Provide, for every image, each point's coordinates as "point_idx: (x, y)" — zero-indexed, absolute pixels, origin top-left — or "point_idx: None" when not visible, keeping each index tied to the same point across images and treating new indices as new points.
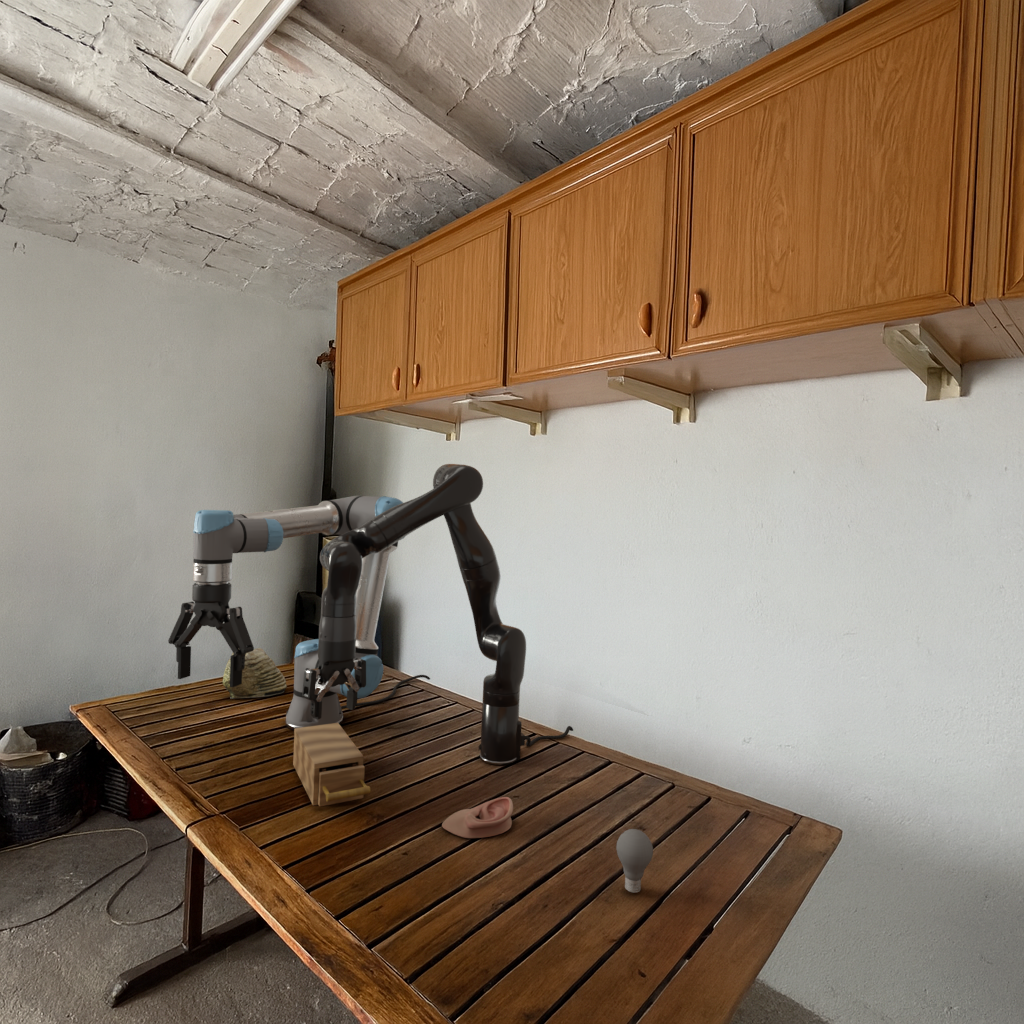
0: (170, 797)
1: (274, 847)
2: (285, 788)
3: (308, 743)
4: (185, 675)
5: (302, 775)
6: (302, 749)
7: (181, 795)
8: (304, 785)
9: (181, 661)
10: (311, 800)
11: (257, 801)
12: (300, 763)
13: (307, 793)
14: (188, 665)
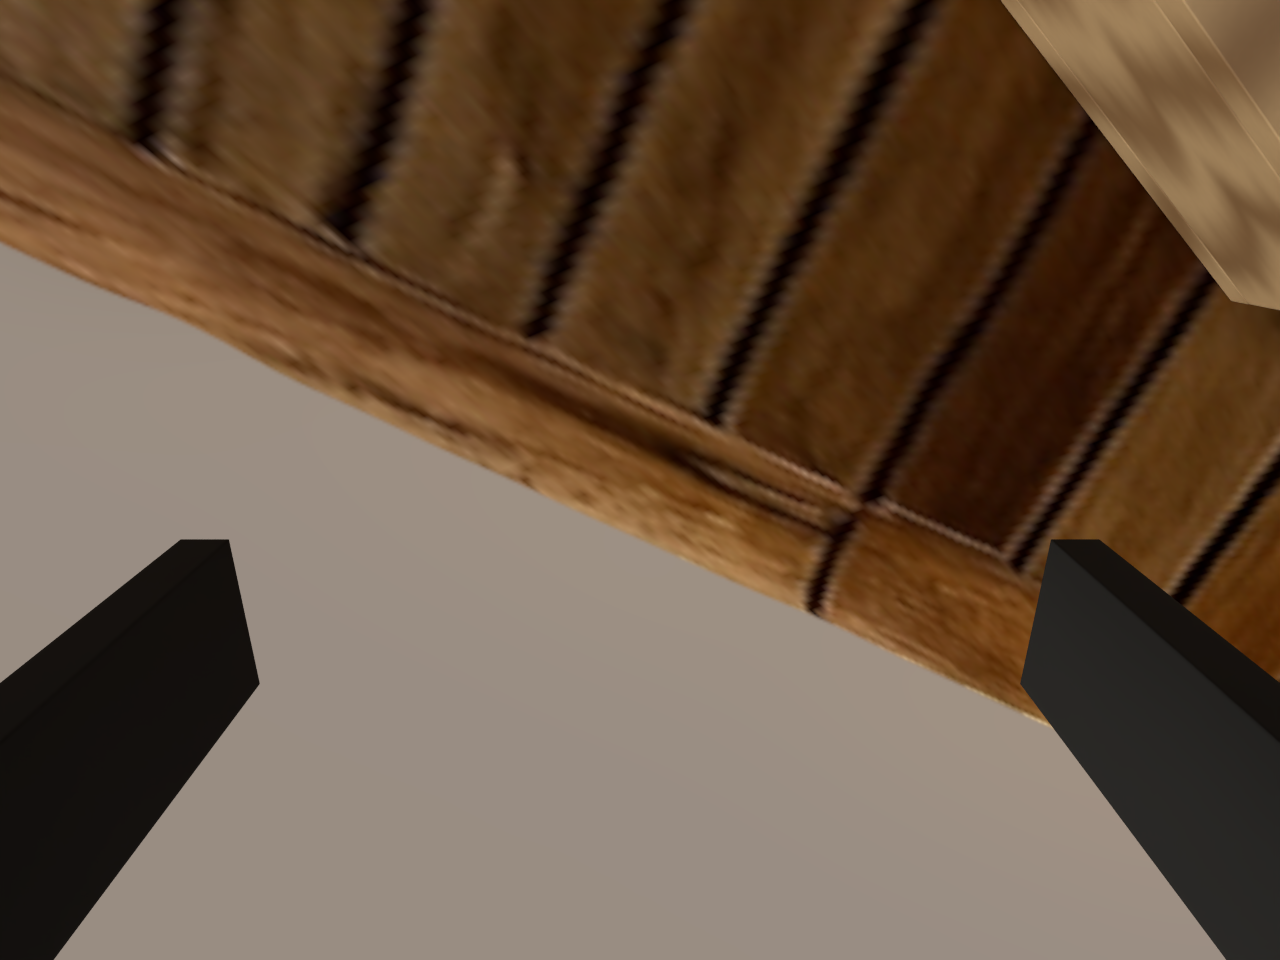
0: (570, 474)
1: (1200, 616)
2: (1018, 194)
3: (1265, 38)
4: (231, 629)
5: (1107, 103)
6: (1188, 61)
7: (598, 443)
8: (1124, 151)
9: (115, 859)
10: (1220, 279)
11: (956, 363)
12: (1092, 42)
13: (1163, 210)
14: (144, 660)
